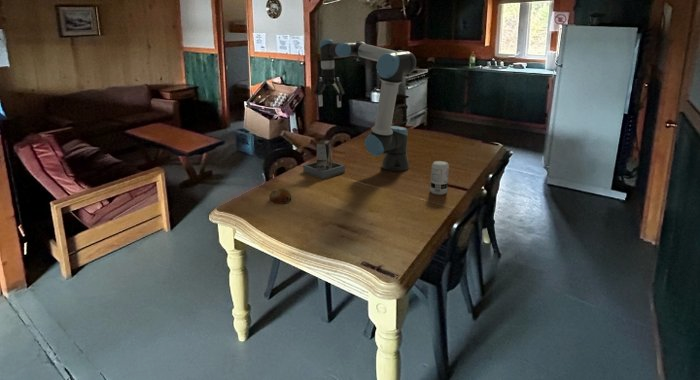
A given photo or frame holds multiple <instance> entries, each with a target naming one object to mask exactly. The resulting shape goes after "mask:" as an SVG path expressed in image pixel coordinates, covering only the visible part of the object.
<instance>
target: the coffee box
mask: <svg viewBox="0 0 700 380" xmlns="http://www.w3.org/2000/svg"><path fill="white" fill-rule="evenodd" d="M332 158H333V157H332V140H331V139H330V140H329V139H320V140H319V141H318V142H317V143H316V162H317V169H318V170H321V171H325V170H329V169H331V168H332V160H333V159H332Z"/></svg>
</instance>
